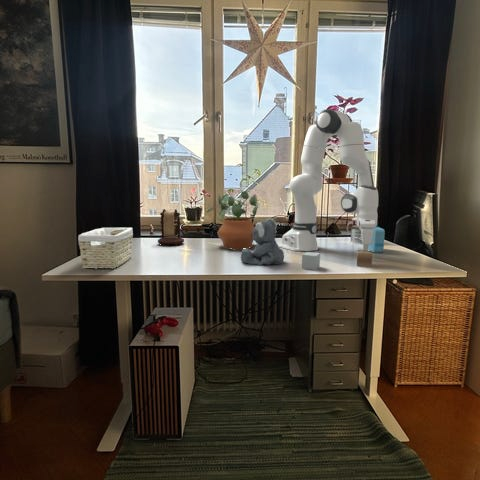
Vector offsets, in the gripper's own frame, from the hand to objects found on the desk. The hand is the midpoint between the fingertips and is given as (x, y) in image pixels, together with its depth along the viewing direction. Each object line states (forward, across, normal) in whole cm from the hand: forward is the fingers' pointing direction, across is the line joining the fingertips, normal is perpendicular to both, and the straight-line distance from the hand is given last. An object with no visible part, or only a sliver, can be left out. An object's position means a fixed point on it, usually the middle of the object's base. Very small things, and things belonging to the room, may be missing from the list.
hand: (365, 251), depth 161 cm
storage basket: (+3, +39, -109) cm, 116 cm away
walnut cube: (+1, +6, -1) cm, 6 cm away
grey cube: (+4, +20, -23) cm, 31 cm away
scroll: (+3, -9, -104) cm, 104 cm away
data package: (+4, -24, +6) cm, 25 cm away
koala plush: (+4, +16, -44) cm, 47 cm away
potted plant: (+3, -13, -68) cm, 69 cm away
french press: (+4, -44, -3) cm, 45 cm away
